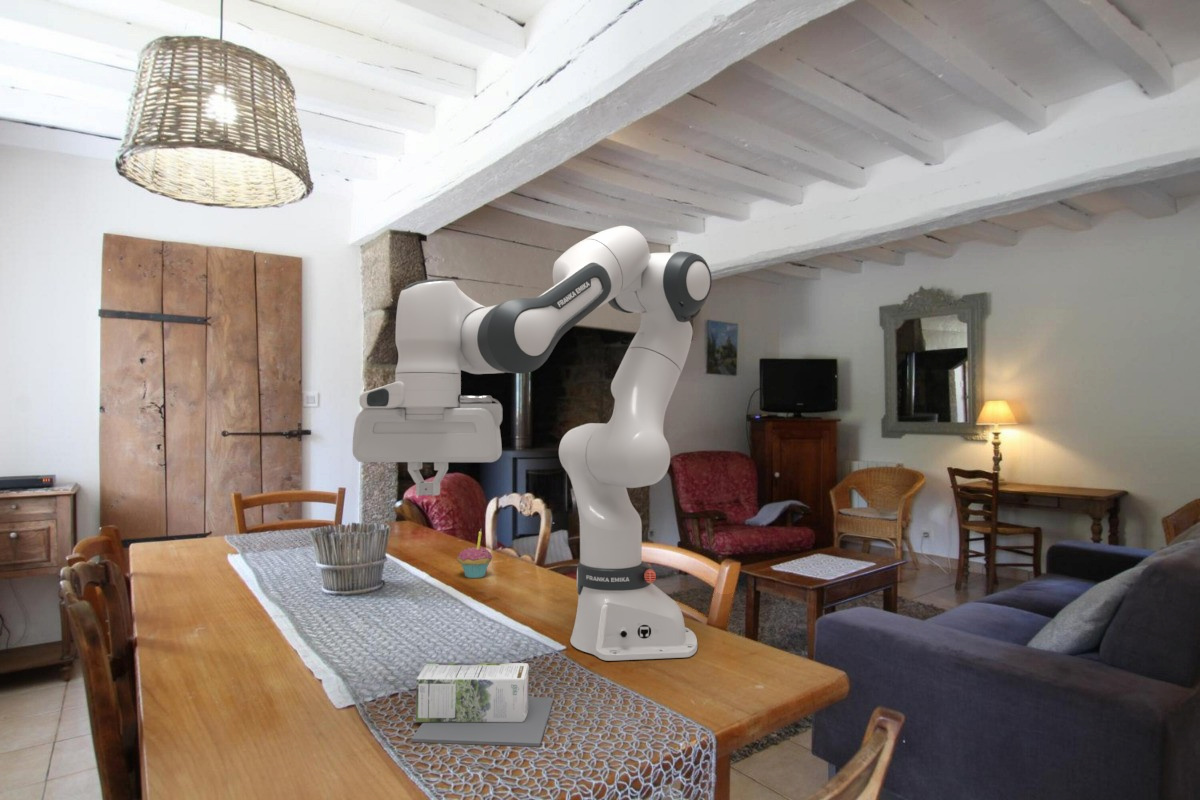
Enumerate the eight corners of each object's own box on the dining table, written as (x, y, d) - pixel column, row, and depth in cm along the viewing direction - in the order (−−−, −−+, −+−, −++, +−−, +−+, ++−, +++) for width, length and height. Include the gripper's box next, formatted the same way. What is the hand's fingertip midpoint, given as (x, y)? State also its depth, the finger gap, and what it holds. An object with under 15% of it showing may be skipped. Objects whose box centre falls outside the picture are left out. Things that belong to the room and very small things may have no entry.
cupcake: (498, 574, 166) (499, 527, 166) (475, 582, 158) (476, 532, 159) (473, 570, 170) (474, 523, 170) (449, 577, 163) (450, 528, 163)
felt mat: (553, 700, 93) (553, 697, 93) (539, 746, 80) (539, 743, 80) (442, 696, 94) (442, 694, 94) (411, 742, 81) (411, 738, 81)
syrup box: (424, 704, 91) (529, 703, 91) (414, 723, 85) (526, 722, 86) (425, 662, 91) (530, 661, 92) (414, 679, 85) (526, 678, 86)
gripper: (506, 395, 94) (506, 492, 94) (366, 396, 95) (366, 491, 95) (497, 394, 88) (497, 498, 87) (347, 395, 89) (347, 497, 88)
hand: (428, 495), depth 91 cm, fingers closed
